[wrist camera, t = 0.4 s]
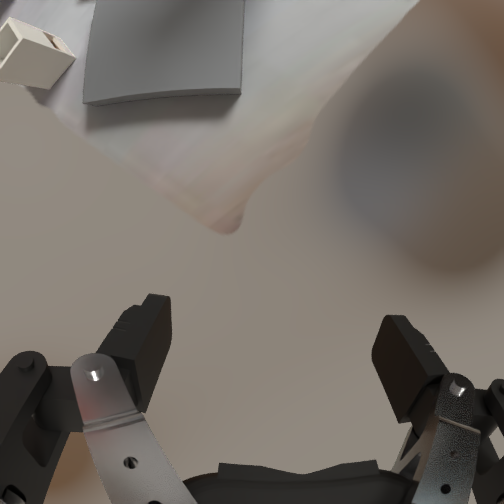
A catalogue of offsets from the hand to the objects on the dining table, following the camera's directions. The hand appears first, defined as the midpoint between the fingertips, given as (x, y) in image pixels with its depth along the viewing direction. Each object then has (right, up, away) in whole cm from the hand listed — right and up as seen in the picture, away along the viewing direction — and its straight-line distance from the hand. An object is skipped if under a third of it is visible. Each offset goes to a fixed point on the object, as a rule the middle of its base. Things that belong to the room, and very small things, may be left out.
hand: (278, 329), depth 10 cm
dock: (-12, +31, +20) cm, 39 cm away
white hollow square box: (-31, +32, +20) cm, 48 cm away
